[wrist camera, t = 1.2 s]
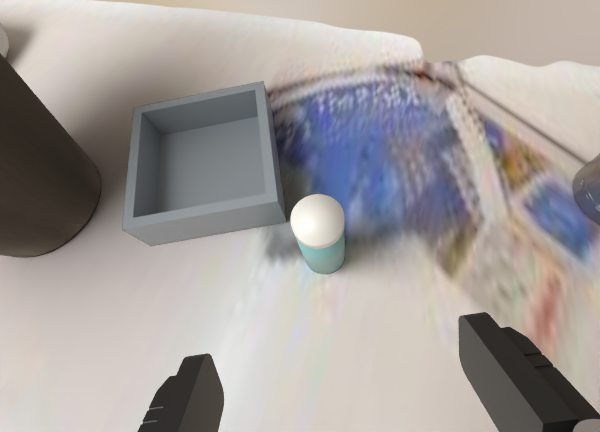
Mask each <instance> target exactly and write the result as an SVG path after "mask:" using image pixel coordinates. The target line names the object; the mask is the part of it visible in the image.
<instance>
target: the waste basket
mask: <svg viewBox="0 0 600 432" xmlns="http://www.w3.org/2000/svg"><path fill="white" fill-rule="evenodd" d="M100 191H101V180H100V175H99V172H98V170H97V168H96V166H95V165H94V164H93V162H92V161H91V160H90V159H89V157H88V156H87V155H86V154H85V153H84V152H83V150H82V149H81V148H80V147H79V146H78V144H77V143H76V142H75V141H74V140H73V139H72V137H71V136H70V135H69V134H68V133H67V132H66V130H65V129H64V128H63V127H62V126H61V124H60V123H59V122H58V121H57V120H56V119H55V117H54V116H53V115H52V114H51V113H50V112H49V110H48V109H47V108H46V107H45V106H44V104H43V103H42V102H41V101H40V100H39V99H38V97H37V96H36V95H35V94H34V93H33V91H32V90H31V89H30V88H29V87H28V85H27V84H26V83H25V82H24V81H23V80H22V78H21V77H20V76H19V75H18V74H17V72H16V71H15V70H14V69H13V68H12V66H11V65H10V64H9V63H8V62H7V61H6V59H5V58H4V57H3V56H2V55H1V53H0V255H5V256H12V257H32V256H37V255H41V254H44V253H47V252H49V251H52V250H54V249H56V248H58V247H59V246H61V245H63V244H64V243H66V242H67V241H68V240H69V239H71V238H72V237H73V236H74V235H75V234H76V233H78V232H79V231H80V229H81V228H82V227H83V226H84V225H85V224H86V223H87V221H88V220H89V218H90V217H91V215H92V213H93V212H94V210H95V207H96V205H97V203H98V200H99V196H100Z"/></svg>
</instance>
